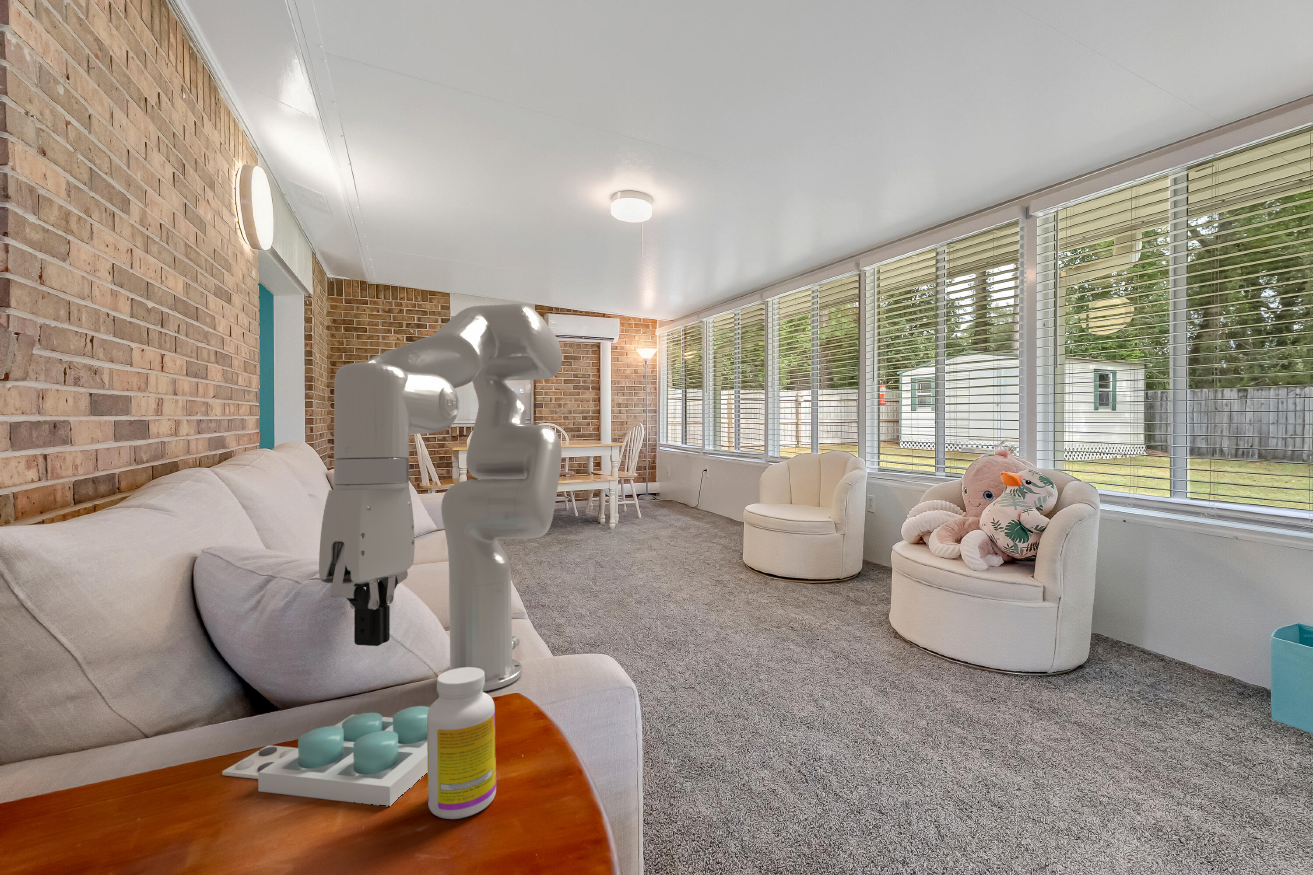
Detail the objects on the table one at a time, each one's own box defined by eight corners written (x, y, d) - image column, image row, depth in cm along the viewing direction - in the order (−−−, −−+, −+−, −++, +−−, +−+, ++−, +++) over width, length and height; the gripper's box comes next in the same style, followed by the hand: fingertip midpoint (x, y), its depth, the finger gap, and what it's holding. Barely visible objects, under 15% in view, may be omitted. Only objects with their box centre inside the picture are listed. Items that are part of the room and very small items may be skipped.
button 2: (359, 731, 74) (359, 711, 74) (389, 733, 73) (389, 713, 73) (333, 748, 70) (333, 727, 70) (365, 751, 69) (365, 730, 69)
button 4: (408, 725, 72) (408, 704, 73) (440, 727, 72) (439, 707, 72) (384, 742, 68) (384, 720, 68) (418, 745, 67) (417, 723, 67)
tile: (268, 748, 71) (268, 743, 71) (309, 752, 70) (309, 747, 70) (222, 774, 66) (222, 769, 66) (266, 779, 64) (266, 774, 64)
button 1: (319, 746, 68) (319, 724, 68) (352, 749, 67) (352, 727, 67) (288, 766, 63) (288, 743, 63) (323, 769, 62) (322, 746, 62)
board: (352, 729, 76) (352, 714, 76) (463, 739, 72) (463, 723, 73) (258, 791, 62) (258, 772, 62) (390, 806, 59) (389, 786, 59)
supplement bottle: (509, 799, 60) (507, 673, 60) (448, 831, 55) (446, 693, 55) (475, 776, 64) (473, 658, 64) (416, 803, 59) (414, 676, 60)
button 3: (372, 751, 66) (372, 729, 66) (406, 754, 65) (406, 732, 65) (344, 772, 62) (343, 748, 62) (380, 776, 61) (380, 751, 61)
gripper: (387, 474, 73) (387, 623, 72) (287, 478, 58) (286, 664, 57) (441, 473, 71) (442, 625, 70) (352, 476, 56) (351, 668, 56)
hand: (372, 642), depth 64 cm, fingers closed
